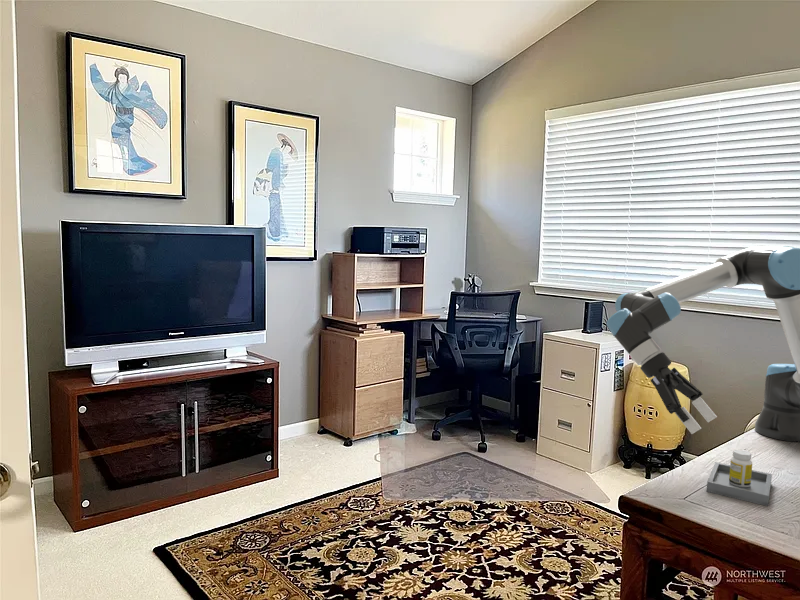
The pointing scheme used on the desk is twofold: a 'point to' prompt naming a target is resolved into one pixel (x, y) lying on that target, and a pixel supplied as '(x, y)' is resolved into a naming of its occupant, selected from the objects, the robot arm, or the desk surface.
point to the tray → (754, 493)
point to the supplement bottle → (740, 468)
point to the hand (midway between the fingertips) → (705, 425)
